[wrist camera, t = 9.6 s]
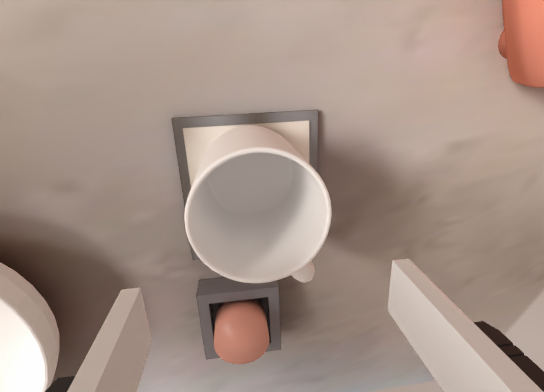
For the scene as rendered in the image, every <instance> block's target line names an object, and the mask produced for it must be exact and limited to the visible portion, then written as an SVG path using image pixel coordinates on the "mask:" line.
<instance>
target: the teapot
mask: <svg viewBox="0 0 544 392" xmlns="http://www.w3.org/2000/svg"><path fill="white" fill-rule="evenodd" d="M502 2H503V19H504V31H503V32H502V34H501V36H500V39H499V44H498V47H499V52H500V54H501V55H502V56H503V57H504V58H507V60H508V68H509V72H510V77H511V78H512V80H513V81H514V82H517V83H519V84H523V85H526V86H531V87H544V0H502Z"/></svg>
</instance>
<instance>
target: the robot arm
mask: <svg viewBox="0 0 544 392" xmlns="http://www.w3.org/2000/svg"><path fill="white" fill-rule="evenodd" d="M388 312H389V313H390V315H391V316H392V318H393V319H394V321H395V322H396V324H397V325H398V326H399V328H400V329H401V331H402V332H403V334H404V335H405V337H406V338H407V340H408V341H409V342H410V344H411V345H412V347H413V348H414V350H415V351H416V353H417V354H418V356H419V357H420V358H421V360H422V361H423V363H424V364H425V366H426V367H427V369H428V370H429V372H430V373H431V374H432V376H433V377H434V379H435V380H436V382H437V383H438V385H439V386H440V387H441V389H442V390H443V392H544V372H543V371H542V370H541V369H540V368H539V367H538V366H537V365H536V364H535V363H534V362H532V361H531V360H530V359H529V358H528V357H527V356H525V355H524V353H523V352H522V351H521V350H520V349H519V348H518V347H516V346H514V345H513V343H512V342H511V341H510V340H509V339H508V338H507V337H506V336H505V335H503V334H502V333H501V332H500V331H499V330H497V329H495V328H494V327H492V326H490V325H489V324H487V323H485V322H484V321H481V322H472V321H471V320H470V319H469V318H468V317H467V316H466V315H465V314H464V313H463V312H462V311H461V310H460V309H459V308H458V307H457V306H456V305H455V304H454V303H453V302H452V301H451V300H450V299H449V298H448V297H447V296H446V295H445V294H444V293H443V292H442V291H441V290H440V289H439V288H438V287H437V286H436V285H435V284H434V283H433V282H432V281H431V280H430V279H429V278H428V277H427V276H426V275H425V274H424V273H423V272H422V271H421V270H420V269H419V268H418V267H417V266H416V265H415V264H414V263H413V262H412V261H411V260H410V259H400V260H392V269H391V280H390V290H389V300H388ZM151 342H152V336H151V332H150V327H149V323H148V318H147V314H146V309H145V305H144V300H143V296H142V291H141V287H140V288H131V289H122V290H121V291H120V293H119V295H118V297H117V299H116V301H115V303H114V304H113V306H112V308H111V310H110V312H109V314H108V316H107V318H106V320H105V321H104V323H103V325H102V327H101V329H100V331H99V333H98V335H97V336H96V338H95V340H94V342H93V344H92V346H91V348H90V350H89V352H88V353H87V355H86V357H85V359H84V361H83V363H82V365H81V367H80V368H79V370H78V372H77V374H76V376H71V377H64V378H58V379H57V380H56V381H55V382H54V383H53V384H52V385H51V386H50V387H49V388H48V389H47V390H46V391H45V392H136V391H137V388H138V384H139V381H140V378H141V374H142V371H143V368H144V365H145V361H146V358H147V355H148V352H149V348H150V345H151Z"/></svg>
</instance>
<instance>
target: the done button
mask: <svg viewBox="0 0 544 392" xmlns="http://www.w3.org/2000/svg"><path fill="white" fill-rule="evenodd" d="M268 346H269V332H268V326H267V319H266V312H265V309H264V307H263V306H262V305H261V304H260V303H259V302H258V301H256V300H255V299H247V300H238V301H229V302H225V303H223V304H222V305H221V306H220V307H219V309H218V310H217V313H216V317H215V331H214V349H215V351H216V353H217V355H218V356H219V357H220V358H222V359H223V360H225V361H227V362H230V363H234V364H245V363H249V362H252V361H254V360H256V359H258V358H259V357H261V356H262V355H263V354H264V353H265V352H266V350H267V348H268Z"/></svg>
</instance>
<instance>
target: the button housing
mask: <svg viewBox="0 0 544 392" xmlns="http://www.w3.org/2000/svg"><path fill="white" fill-rule="evenodd" d="M196 297H197V304H198V310H199V317H200V324H201V330H202V337H203V343H204V350H205V357H206V359H213V358H220V357H219V356H218V355H217V353H216V351H215V349H214V331H215V317H216V313H217V310H218V309H219V307H220V306H221V305H222V304H223V303H225V302H229V301H238V300H247V299H255V300H256V301H258V302H259V303H260V304H261V305H262V306H263V307H264V309H265V312H266V319H267V326H268V332H269V346H268V348H267V350H266V351H274V350H281V331H280V309H279V287H278V282H277V280H276V281H272V282H266V283H244V282H239V281H235V280H232V279H228V278H226V277H224V278H215V279H206V280H199V283H198V289H197V295H196Z"/></svg>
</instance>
